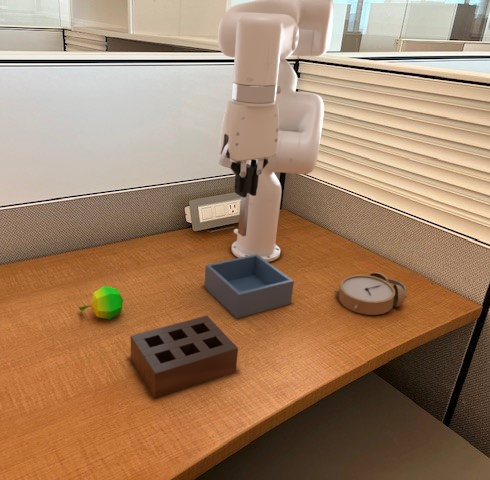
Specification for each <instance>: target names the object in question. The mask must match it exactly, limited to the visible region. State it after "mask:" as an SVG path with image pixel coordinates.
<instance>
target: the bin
mask: <svg viewBox="0 0 490 480" xmlns="http://www.w3.org/2000/svg"><path fill="white" fill-rule="evenodd" d="M294 283H295V281H294V280H293V279H292V278H291V277H289V276H288V275H286V274H285V273H284V272H282V271H281V270H279V268H277V267H276V266H274V265H272V263H270V262H267V261H266V260H264V259H263V258H262V257H260V256H259V255H257V254H255V255H250V256H246V257H241V258H238V257H236V258H232V259H228V260H223V261H222V260H221V261H218V262H214V263H213V262H212V263H209V264H205V268H204V284H203V285H204V288H205V290H206V291H208V292H209V293H210V294H211V295H212V296H213V297H214V298H215V299H216V300H217V301H218V302H219V303H220V304H221V305H222V306H223V307H224V308H225V309H226V310H227V311H228V312H229V313H230V314H231V315H233V316H234V318H236V319H240V318H244V317H247V316H252V315H254V314H258V313H262V312H265V311H269V310H273V309H277V308H281V307H284V306H288V305H291V303H292V297H293V291H294V285H295V284H294Z"/></svg>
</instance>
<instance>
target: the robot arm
mask: <svg viewBox="0 0 490 480" xmlns="http://www.w3.org/2000/svg"><path fill="white" fill-rule="evenodd" d="M333 20H334V0H251V1H247V2H242V3H239V4H235V5H233V6H231V7H229V9H228V10H227V11H225V12H224V14H223V15H222V17H221V19H220V21H219V24H218V28H217V46H218V48H219V50H220V52H221V53H222V54H223V55H224V56H226V57H229V58H234V61H233V74H232V75H233V77H232V91H231V92H232V93H231V100H228V101H226V105H225V109H224V112H223V116H222V122H221V127H220V136H219V142H218V143H219V145H218V152H219V154H220V155H221V156H220V158H219V160H218V164H219V165H220V166H221V167H224V168H228V169H230V170H231V171H232V173H233V174H235V176H234V186H233V187H234V188H233V189H234V193H235V194H236V195H238V196H240V198H241V197H243V198H244V197H246V196H247V188H248V177H246V165H247V164H249V165H251V166H253V167H254V175H253V185H252V193H250V197H249V208H248V219H247V230H246V236H242V235H240V234H239V233H238V228H235V229H233V234H234V235H236V240H235V241H234V242H232V244H231V253H232V254H233V255H234V256H235V257H236V258H241V257H246V256H250V255H255V254H257V255H259V256H260V257H262V258H263V259H264V260H266V261H267V262H269V263H270V262H273V261H275V260H277V259H279V258H280V256H281V251H282V250H281V248H280V247H279V246H278V245H277V243H276V241H277V234H278V233H277V232H278V226H279V224H278V223H279V217H280V211H281V209H280V208H281V200H282V193H283V192H282V185H281V182H280V180H279V178H278V177H277V175H276V174H275V173H283V174H293V175H309V174H310V173H312V172H313V171H314V169H315V167H316V165H317V163H318V158H319V157H318V156H319V150H320V143H321V136H322V132H323V131H322V130H323V123H324V115H325V105H324V100H323V98H322V97H321V95H319V94H317V93H313V92H305V91H296V90H297V86H298V85H297V84H298V75H297V73H296V71H295V69H294V67H293V66H292V65H291V63H289V61H288V60H286V59H288V58H289V57H291V56H296V57H310V58H311V57H312V58H315V57H316V58H317V57H321V56H323V55H325V54H326V53H327V51H328V50H329V48H330V46H331V45H330V44H331V40H332V31H333V22H334V21H333Z"/></svg>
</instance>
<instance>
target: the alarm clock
mask: <svg viewBox="0 0 490 480" xmlns="http://www.w3.org/2000/svg"><path fill="white" fill-rule="evenodd" d="M392 284H393V285H392ZM406 291H407V287H406V286H405V285H404V284H403V283H402V282H401V281H398V280H396V279H393V278H388V277H387V276H386V275H385V274H383V273H382V272H375V271H374V272H372V273H370V274H353V275H348V276H346V277H344V278H343V279H341V281H340V283H339V289H334V290H333V293H336V294H338V300H339V302H340V303H341V304H342V306H343V307H345V308H347V310H350V311H352V312H354V313H358V314H360V315H361V314H362V315H368V316H377V315H378V316H379V315H384V314H385V313H387V312H390V311H391V310H392V309H393V307H395V308H396V307H400V306H402V305H403V304H404V302H405V300H406V298H408V295H406Z"/></svg>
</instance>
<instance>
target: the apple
mask: <svg viewBox="0 0 490 480" xmlns="http://www.w3.org/2000/svg"><path fill="white" fill-rule="evenodd" d="M123 304H124V298H123V296H122V295H121V292H120V291H119V290H118V288H115V287H111V286H107V285H103V286H102V287H100V288H99V289H97V290H96V291H94V292H93V293H92V296H91V301H90V304H89V305H86V304H84V305H83V306H78V309H79V310H80V313H79V315H80V314H82V313H83V312H84V311H85V310H87V308H91V309H92V311H93V313H94V315H95V316H96V318H100V319H105V320H111V319H112V318H113V319H114V317H116V316H117V315H119V314H120V313H121V312H122V308H123Z"/></svg>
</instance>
